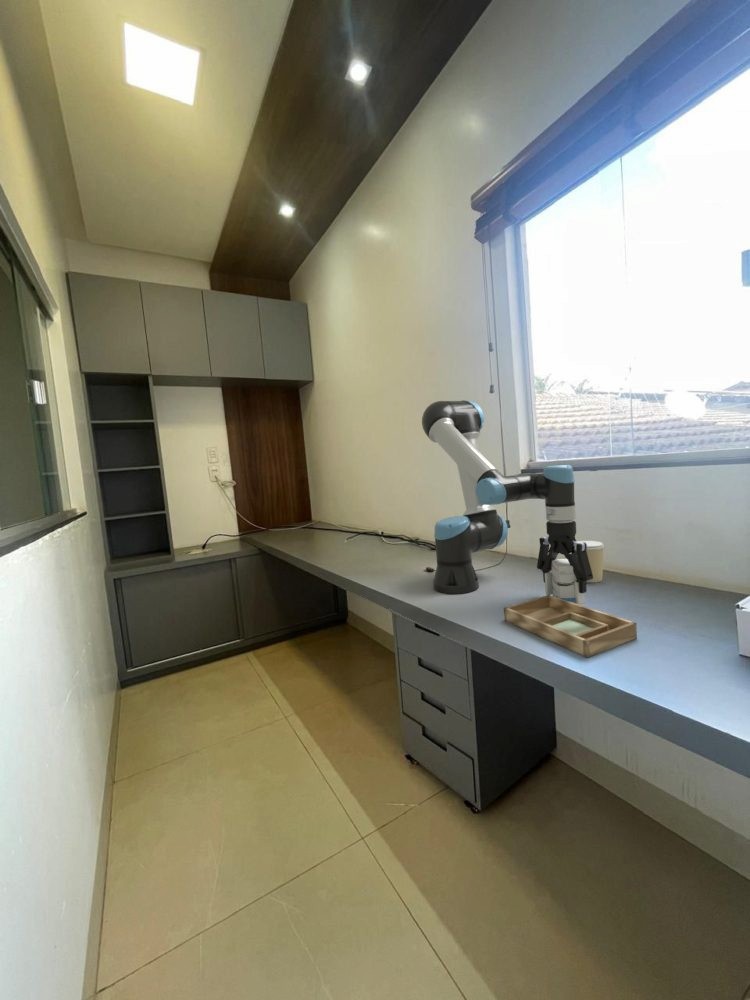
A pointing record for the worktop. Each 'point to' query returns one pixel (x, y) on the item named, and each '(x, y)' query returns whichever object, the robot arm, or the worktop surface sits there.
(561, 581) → the ink box
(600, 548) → the coffee cup
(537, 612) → the walled box
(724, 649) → the worktop surface
